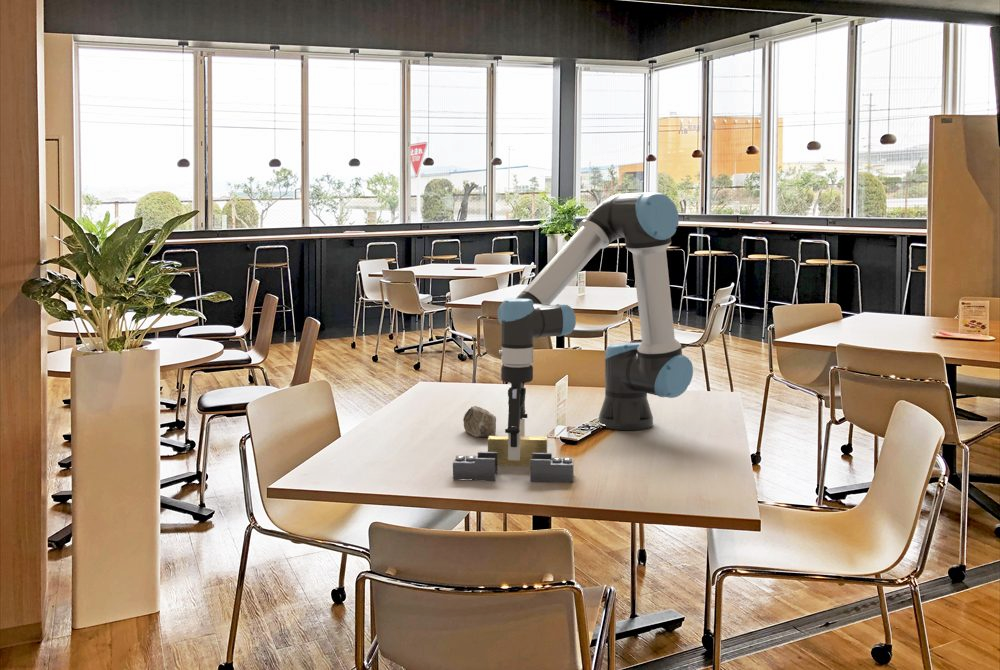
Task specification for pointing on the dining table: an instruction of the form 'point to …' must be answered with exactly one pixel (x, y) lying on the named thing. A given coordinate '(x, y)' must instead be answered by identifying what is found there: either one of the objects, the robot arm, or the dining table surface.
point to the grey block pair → (540, 467)
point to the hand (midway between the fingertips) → (516, 452)
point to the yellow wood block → (526, 449)
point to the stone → (479, 422)
